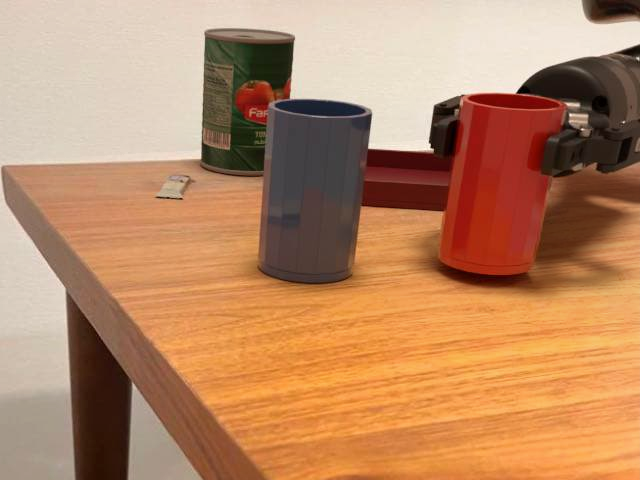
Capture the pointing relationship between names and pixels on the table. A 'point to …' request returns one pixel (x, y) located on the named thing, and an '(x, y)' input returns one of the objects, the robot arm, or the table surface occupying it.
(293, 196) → the blue cup
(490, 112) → the red cup
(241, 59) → the canned tomato
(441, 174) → the red tray
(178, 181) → the granola bar
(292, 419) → the table surface
